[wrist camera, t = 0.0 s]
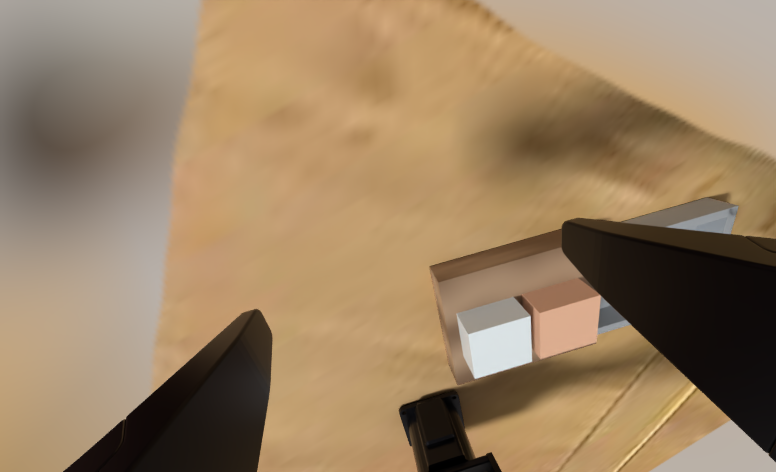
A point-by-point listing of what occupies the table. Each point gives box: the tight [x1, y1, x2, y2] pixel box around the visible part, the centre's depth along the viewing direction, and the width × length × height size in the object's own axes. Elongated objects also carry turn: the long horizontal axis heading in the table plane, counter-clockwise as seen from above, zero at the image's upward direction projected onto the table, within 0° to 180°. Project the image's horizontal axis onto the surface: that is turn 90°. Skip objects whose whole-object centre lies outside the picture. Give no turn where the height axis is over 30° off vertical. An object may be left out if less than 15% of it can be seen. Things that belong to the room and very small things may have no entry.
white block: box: [456, 297, 532, 379], centre depth 26 cm, size 5×5×2 cm
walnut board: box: [430, 229, 596, 385], centre depth 28 cm, size 12×14×2 cm
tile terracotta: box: [522, 278, 601, 359], centre depth 26 cm, size 5×5×2 cm
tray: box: [597, 197, 738, 335], centre depth 29 cm, size 10×12×2 cm
